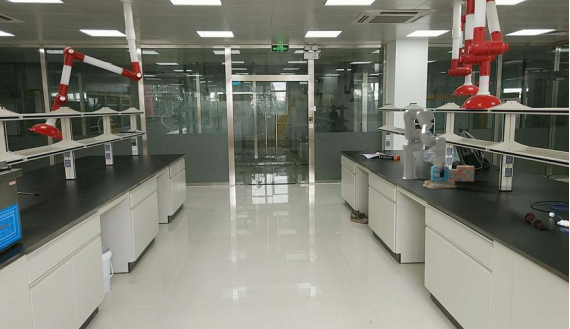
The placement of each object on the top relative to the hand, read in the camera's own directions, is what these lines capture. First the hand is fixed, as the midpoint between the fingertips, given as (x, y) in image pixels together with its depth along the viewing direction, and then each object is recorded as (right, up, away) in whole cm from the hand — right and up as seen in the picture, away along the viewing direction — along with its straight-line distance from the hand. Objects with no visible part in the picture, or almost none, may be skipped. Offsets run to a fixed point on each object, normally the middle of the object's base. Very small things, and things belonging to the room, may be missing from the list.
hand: (439, 176), depth 315 cm
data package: (0, -4, +1) cm, 4 cm away
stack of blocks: (+25, -4, +23) cm, 34 cm away
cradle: (0, -8, +1) cm, 8 cm away
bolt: (+8, -22, -106) cm, 109 cm away
